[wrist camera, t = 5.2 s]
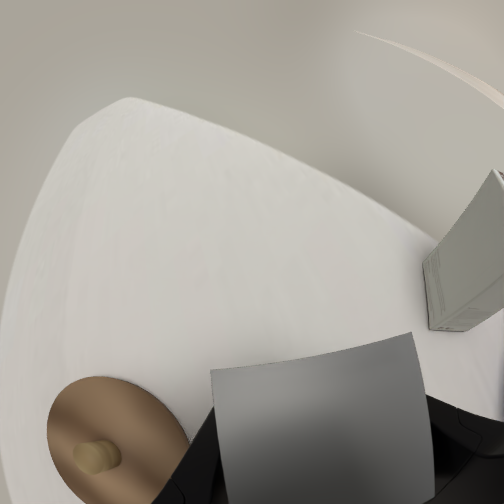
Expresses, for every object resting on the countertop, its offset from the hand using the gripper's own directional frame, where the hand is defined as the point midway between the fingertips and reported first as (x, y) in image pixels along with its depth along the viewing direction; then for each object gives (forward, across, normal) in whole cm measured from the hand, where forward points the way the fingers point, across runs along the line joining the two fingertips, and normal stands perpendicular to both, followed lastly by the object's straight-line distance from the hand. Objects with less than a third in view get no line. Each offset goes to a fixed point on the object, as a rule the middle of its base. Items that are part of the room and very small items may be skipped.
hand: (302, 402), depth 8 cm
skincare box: (+14, -20, +6) cm, 25 cm away
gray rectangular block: (+4, 0, +6) cm, 7 cm away
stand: (+6, +14, +13) cm, 20 cm away
